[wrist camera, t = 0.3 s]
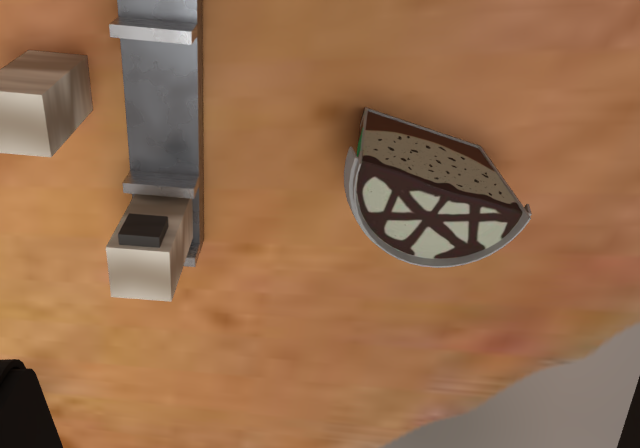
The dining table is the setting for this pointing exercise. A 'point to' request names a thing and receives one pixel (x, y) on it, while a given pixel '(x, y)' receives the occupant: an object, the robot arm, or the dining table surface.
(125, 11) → the rail
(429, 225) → the food container
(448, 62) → the dining table surface
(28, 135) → the block
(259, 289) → the dining table surface
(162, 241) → the block
